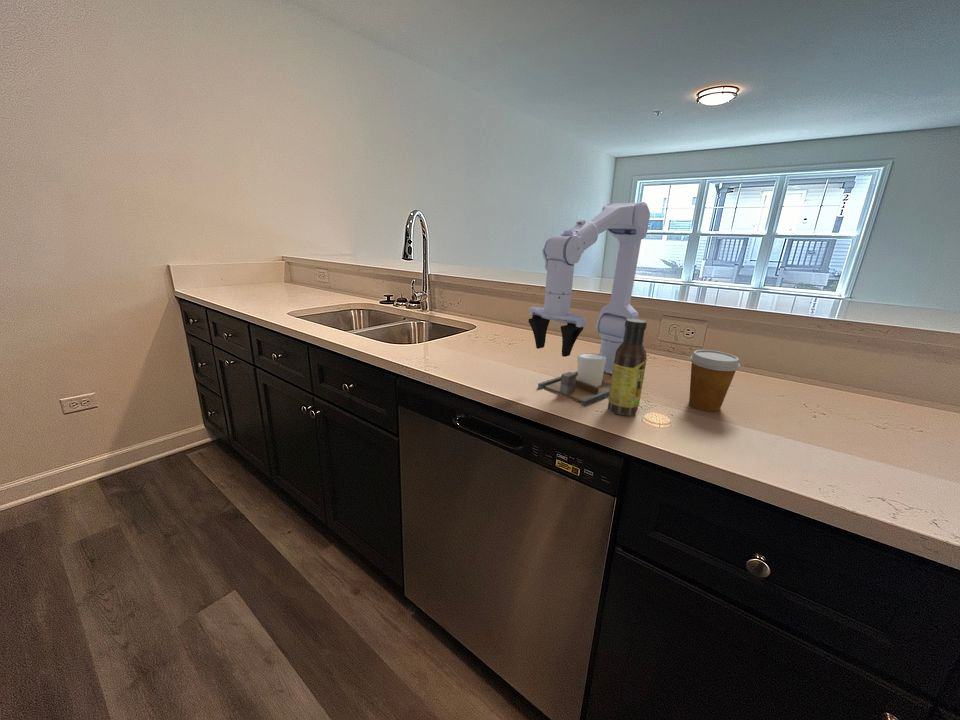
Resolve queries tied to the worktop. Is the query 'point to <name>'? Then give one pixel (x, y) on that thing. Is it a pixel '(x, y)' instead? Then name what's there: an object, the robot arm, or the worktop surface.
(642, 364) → the sauce bottle
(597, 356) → the white cup
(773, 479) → the worktop surface
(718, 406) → the disposable coffee cup
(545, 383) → the lane rails
